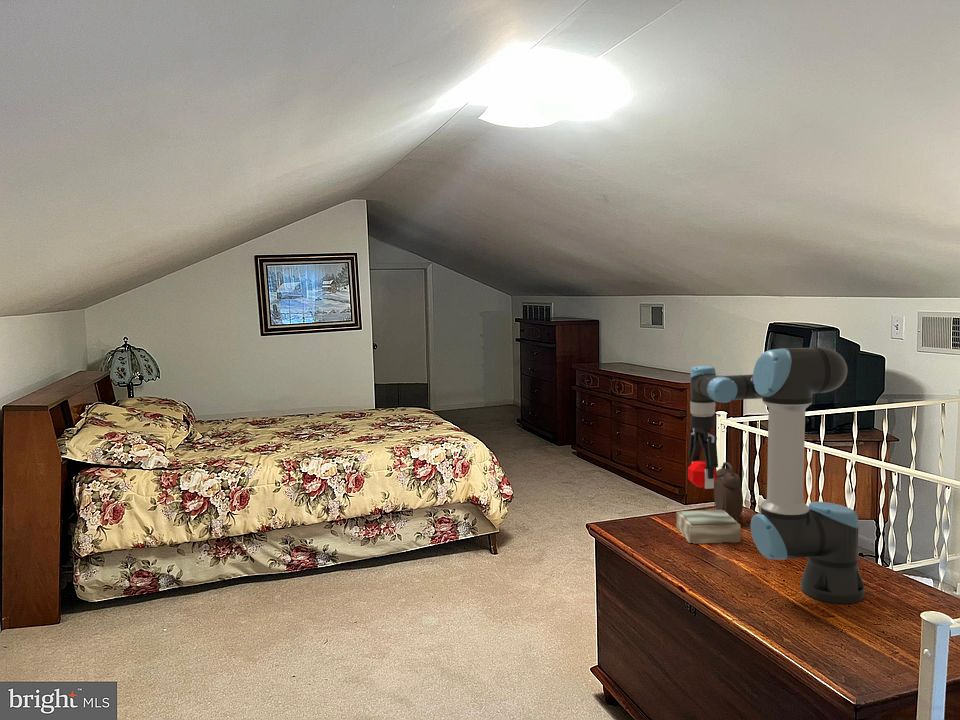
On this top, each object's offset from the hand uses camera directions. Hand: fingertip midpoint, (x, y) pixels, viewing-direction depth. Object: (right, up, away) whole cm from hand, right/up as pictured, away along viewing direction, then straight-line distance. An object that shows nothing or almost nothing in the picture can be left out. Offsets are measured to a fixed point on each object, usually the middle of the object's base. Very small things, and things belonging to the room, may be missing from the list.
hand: (702, 484), depth 237 cm
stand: (+3, -17, +5) cm, 18 cm away
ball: (0, -1, 0) cm, 1 cm away
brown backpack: (+15, -16, +20) cm, 29 cm away
